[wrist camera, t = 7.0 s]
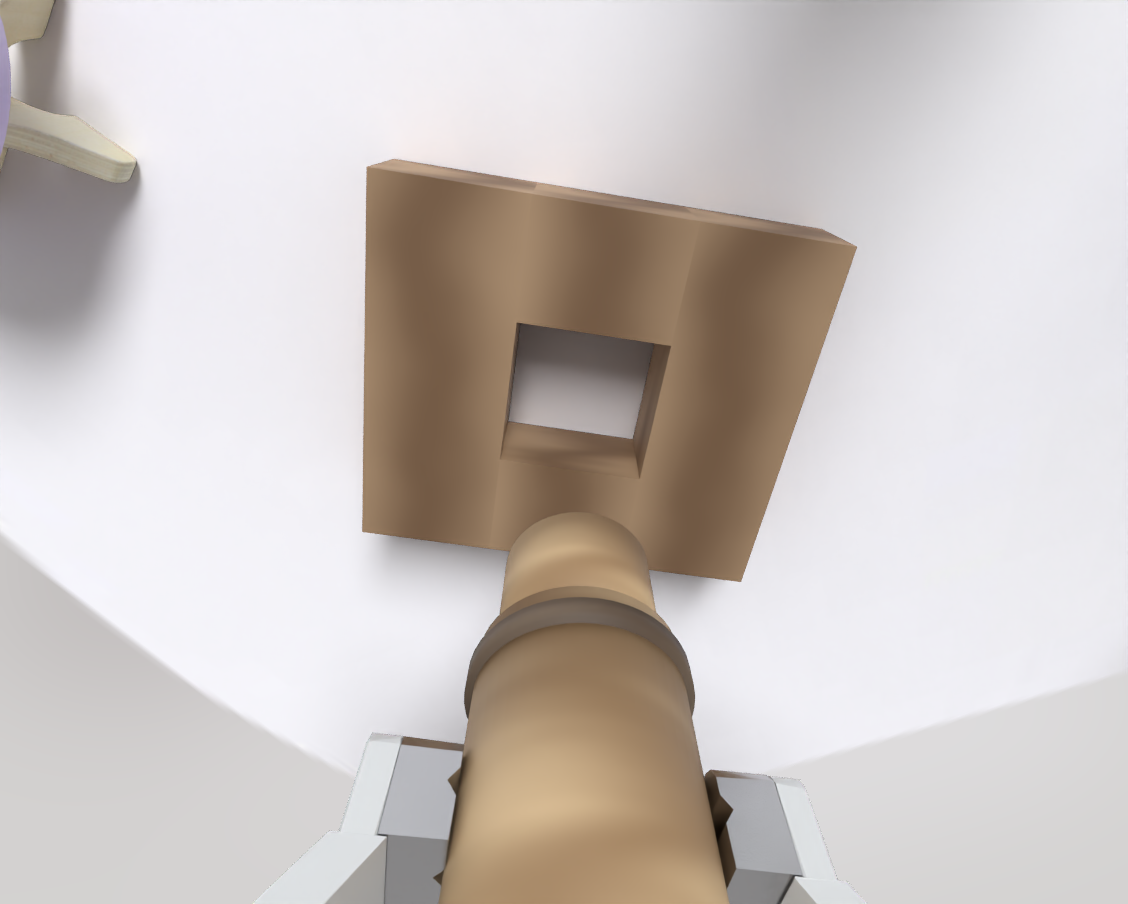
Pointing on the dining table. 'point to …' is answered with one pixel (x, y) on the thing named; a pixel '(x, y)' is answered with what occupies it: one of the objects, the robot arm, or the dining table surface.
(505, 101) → the dining table surface
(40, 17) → the toy table
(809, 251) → the board
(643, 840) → the peg
